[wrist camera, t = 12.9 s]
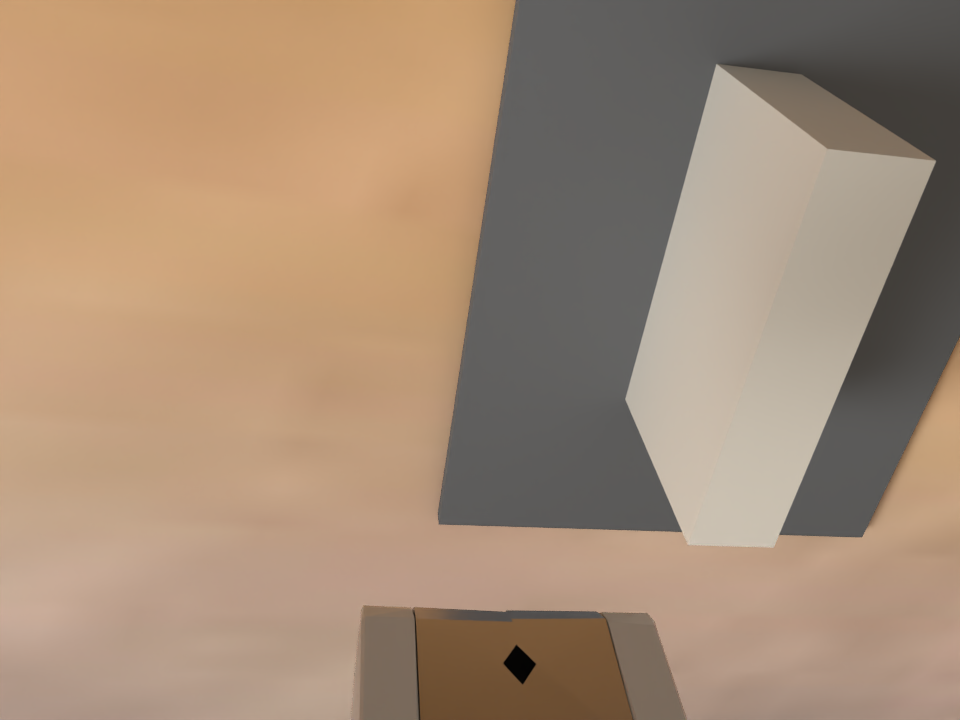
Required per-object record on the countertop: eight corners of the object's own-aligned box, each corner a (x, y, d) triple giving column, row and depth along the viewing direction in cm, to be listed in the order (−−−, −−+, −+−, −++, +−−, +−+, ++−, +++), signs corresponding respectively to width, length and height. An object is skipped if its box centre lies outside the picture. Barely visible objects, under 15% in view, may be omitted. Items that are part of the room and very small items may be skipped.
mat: (855, 527, 25) (861, 537, 25) (437, 513, 23) (438, 524, 23) (1152, -95, 17) (1167, -92, 17) (545, -196, 15) (549, -196, 15)
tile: (695, 403, 22) (774, 547, 18) (625, 399, 22) (687, 544, 17) (801, 74, 18) (936, 160, 14) (716, 63, 17) (827, 149, 13)
